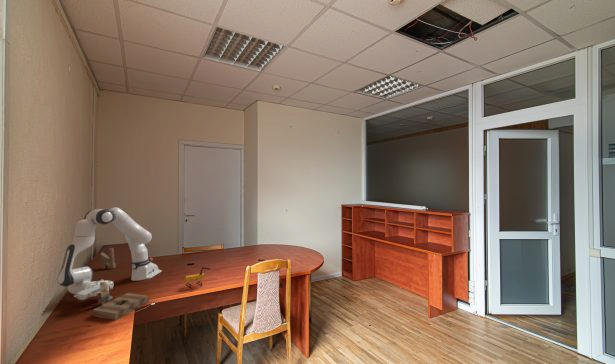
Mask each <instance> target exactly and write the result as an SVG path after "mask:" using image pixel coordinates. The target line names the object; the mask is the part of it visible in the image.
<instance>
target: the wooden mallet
mask: <svg viewBox="0 0 615 364" xmlns="http://www.w3.org/2000/svg"><path fill="white" fill-rule="evenodd" d="M114 252H115V250H114V247H110V248H108V255H107V254H106V253H105V252H100V264H101V265H100V266H101V270H107V269H108V270H109V269H110V270H111V269H115V268H117V264H116V263H115V261H116V260H115V253H114Z"/></svg>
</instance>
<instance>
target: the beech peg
mask: <svg viewBox="0 0 615 364" xmlns="http://www.w3.org/2000/svg"><path fill="white" fill-rule="evenodd" d="M108 281H109V280H107V281H105V280H104V281H102V282H100V292H101V293H100V298H98V299H97V302H98V303H101V306H102V305H104V304H106V303H108V302H110V301H112V300H113V297H114V296H112V295H110V290H109V285H108Z"/></svg>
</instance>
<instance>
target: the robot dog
mask: <svg viewBox="0 0 615 364" xmlns="http://www.w3.org/2000/svg"><path fill="white" fill-rule="evenodd" d="M203 270H208V271H209V270H211V268H210V267H205V266H202V267H201V270H200V272H199V273H197V274H191V275H186V276H185V280H184V284H183V285H184V286H186V287H187V288H190V289H192V286H193V285H192V284H190V283H189V282H190V281H193V280H195V282H194V283H195V284H197V285H198V286H200V287H202V286H203V283H202V282H201V281H200V280H201V279H204V277H205V273H203Z"/></svg>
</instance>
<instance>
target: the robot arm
mask: <svg viewBox="0 0 615 364" xmlns="http://www.w3.org/2000/svg"><path fill="white" fill-rule="evenodd" d="M110 223H112V225H113V226H115V227H116V228H117V229H118V230H119V231H120V232H121V233H122V234H124V239H125V241H126V242H127V244H128V248H129V250H130V254H131V261H130V262H131V263H130V264H131V278H130V280H131V281H134V282H135V281H136V282H137V281H144V280H149V279H151V278H154V277H155V276H156V275H158V274H161V272H162V270H161V269H159V266H158V265H157V264H156V263H153V262H152V261H153V260H154V259H153V258H152V257H150V258H149V253H148V248H147V247H146V245H145V244H148V243H150V242H151V240H152V239H153V235H152V233H151V232H150V231H148V230H147V229H146V228H145V227H143V226H141V225H140V224H138V223H137V222H136V221H135V220H134V219H133V218H132V217H131V216H130V215H129V214H128V213H126V211H123V210H122V209H121V208H119V207H118V206H117V207H116V206H115V207H111V208H109V209H104V208H95V209H94V208H93V209H91V210H89V211H87V212H86V214H85V215H84V218H83V219H80V220H78V222H77V223H76V226H75V229H74V234H73V240H72V242H71V244H69V245H68V246H67V248H66V249H65V254H64V258H63V261H62V265H61V269H60V272H58V276H57V284H59V286H62V287H65V288H66V287H67V291H68V292H69V293H70V294H73V297H74V298H77V300H81V301H83V300H84V301H85V300H86V299H89V298H91V297H97V296H99V294H101V292H100V282H102V281H108V285H109V291H111V290H113V288H114V285H115V284H114V281H112V280H106V279H105V280H104V279H99V280H98V279H97V280H94V281H93V277H94V271H93V269H92V268H91V267H90V266H87V265H86V266H80V267H78V268H73V266H74V261H75V258H76V257H77V256H78V254H79V253H81V252H83V251H85V250H87V249H90V247H91V246H93V245H94V243H95V240H96V239H95V238H96V229H97V227H98V226H101V225H103V226H104V225H108V224H110Z"/></svg>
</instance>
